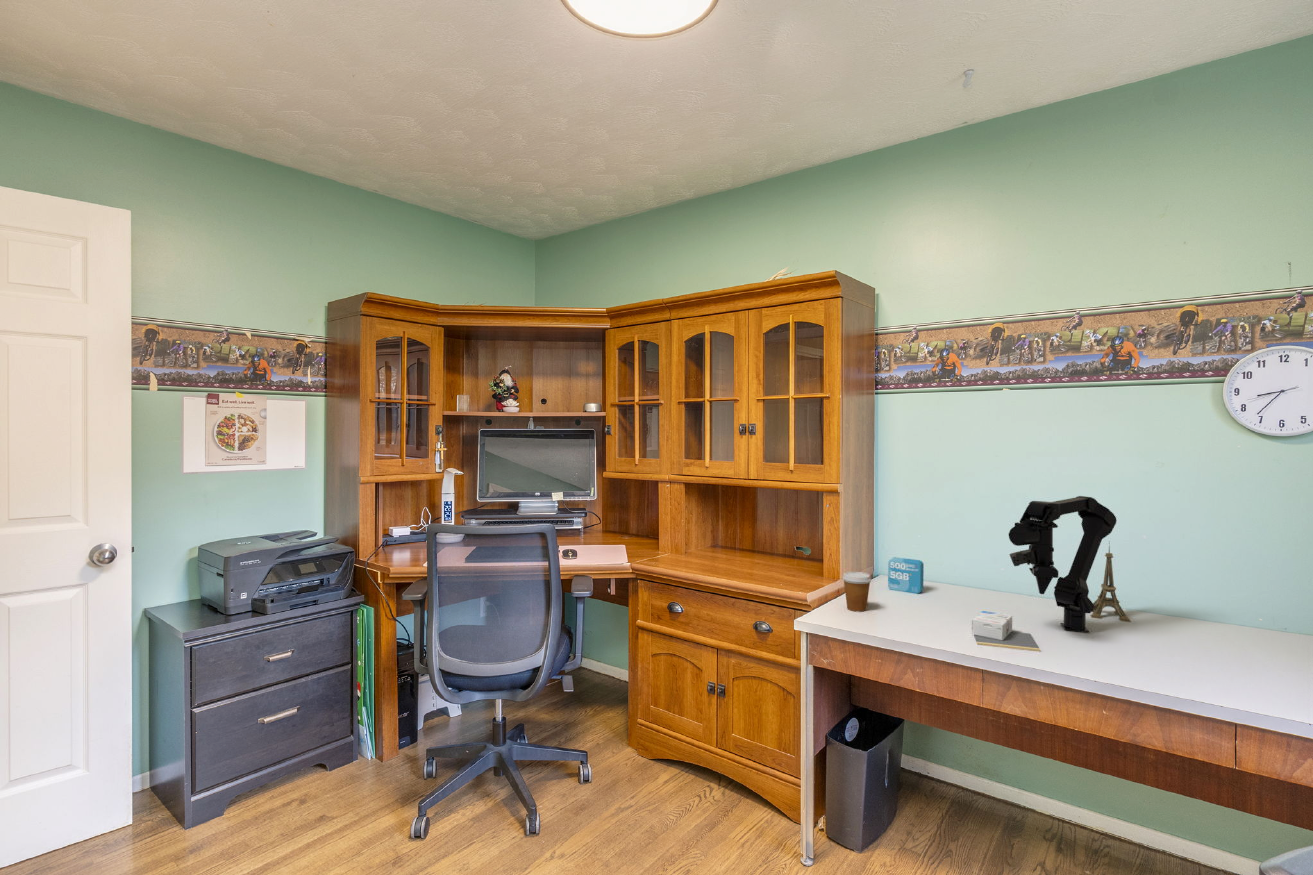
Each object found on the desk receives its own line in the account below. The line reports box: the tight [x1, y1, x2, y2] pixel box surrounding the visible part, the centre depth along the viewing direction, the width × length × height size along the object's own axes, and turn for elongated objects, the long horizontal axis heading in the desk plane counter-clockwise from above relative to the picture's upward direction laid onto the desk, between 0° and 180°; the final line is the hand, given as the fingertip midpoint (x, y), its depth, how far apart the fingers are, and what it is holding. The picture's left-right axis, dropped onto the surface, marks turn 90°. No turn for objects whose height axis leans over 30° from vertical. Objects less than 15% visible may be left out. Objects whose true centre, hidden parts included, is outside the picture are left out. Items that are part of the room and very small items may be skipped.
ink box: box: [971, 610, 1013, 641], centre depth 195 cm, size 9×5×12 cm
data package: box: [887, 556, 925, 595], centre depth 246 cm, size 12×4×12 cm, turn 54°
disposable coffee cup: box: [842, 571, 872, 613], centre depth 222 cm, size 10×10×12 cm
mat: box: [973, 631, 1041, 652], centre depth 191 cm, size 15×16×1 cm
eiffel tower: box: [1090, 540, 1132, 623], centre depth 214 cm, size 11×11×25 cm
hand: (1041, 593), depth 196 cm, fingers closed
